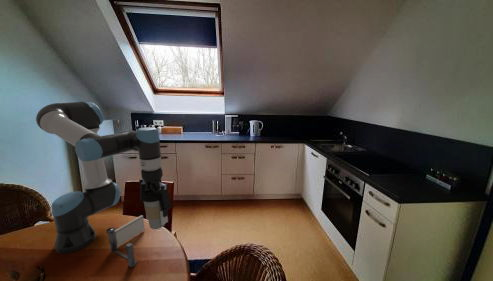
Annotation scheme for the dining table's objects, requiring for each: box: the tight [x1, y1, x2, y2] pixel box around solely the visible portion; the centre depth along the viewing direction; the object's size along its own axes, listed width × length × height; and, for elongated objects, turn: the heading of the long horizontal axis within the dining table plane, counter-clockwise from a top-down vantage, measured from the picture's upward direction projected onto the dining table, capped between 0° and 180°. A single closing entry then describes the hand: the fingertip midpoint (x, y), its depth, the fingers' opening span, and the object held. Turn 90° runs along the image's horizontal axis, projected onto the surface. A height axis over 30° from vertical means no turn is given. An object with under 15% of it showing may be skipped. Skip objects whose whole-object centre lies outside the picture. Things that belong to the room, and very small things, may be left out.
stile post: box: [125, 242, 136, 268], centre depth 88 cm, size 2×2×10 cm
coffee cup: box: [141, 189, 166, 230], centre depth 88 cm, size 9×9×15 cm
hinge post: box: [106, 226, 118, 253], centre depth 96 cm, size 3×3×11 cm
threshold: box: [114, 250, 138, 265], centre depth 93 cm, size 14×1×1 cm, turn 62°
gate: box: [114, 214, 146, 248], centre depth 103 cm, size 14×1×8 cm, turn 152°
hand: (157, 220), depth 89 cm, fingers closed on coffee cup, 8 cm apart
